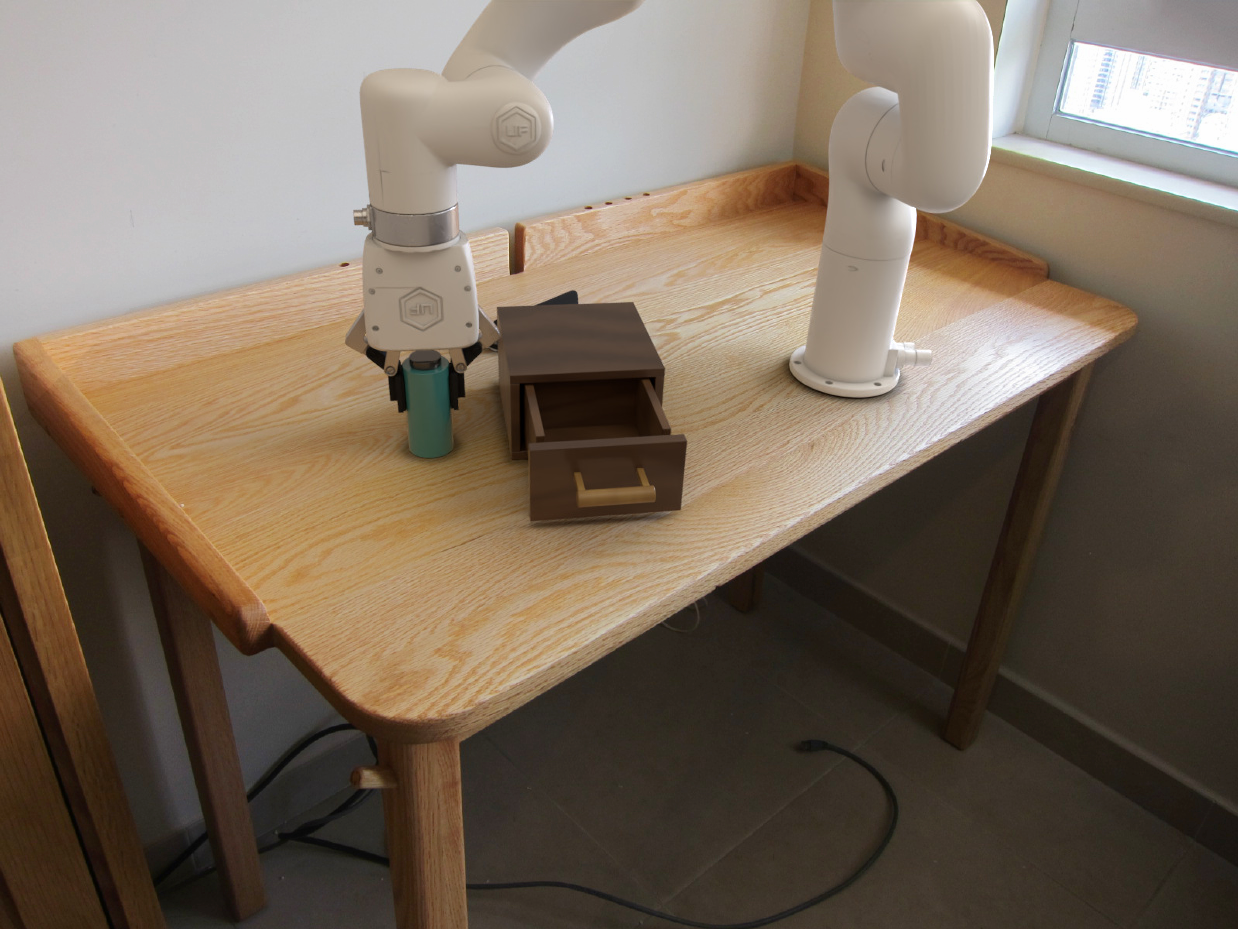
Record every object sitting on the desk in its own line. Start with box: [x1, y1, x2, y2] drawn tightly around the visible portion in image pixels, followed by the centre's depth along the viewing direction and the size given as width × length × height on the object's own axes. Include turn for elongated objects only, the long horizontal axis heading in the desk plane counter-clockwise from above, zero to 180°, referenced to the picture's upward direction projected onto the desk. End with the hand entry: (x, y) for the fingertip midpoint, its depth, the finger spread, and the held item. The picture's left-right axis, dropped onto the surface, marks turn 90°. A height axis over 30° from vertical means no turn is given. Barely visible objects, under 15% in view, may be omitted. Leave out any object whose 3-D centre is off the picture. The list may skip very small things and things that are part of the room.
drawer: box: [522, 377, 688, 522], centre depth 89 cm, size 19×14×7 cm
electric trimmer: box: [487, 289, 579, 353], centre depth 121 cm, size 4×16×3 cm, turn 142°
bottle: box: [401, 350, 455, 459], centre depth 95 cm, size 4×4×10 cm
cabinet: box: [496, 301, 666, 460], centre depth 101 cm, size 16×15×9 cm
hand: (428, 402), depth 95 cm, fingers closed on bottle, 4 cm apart
